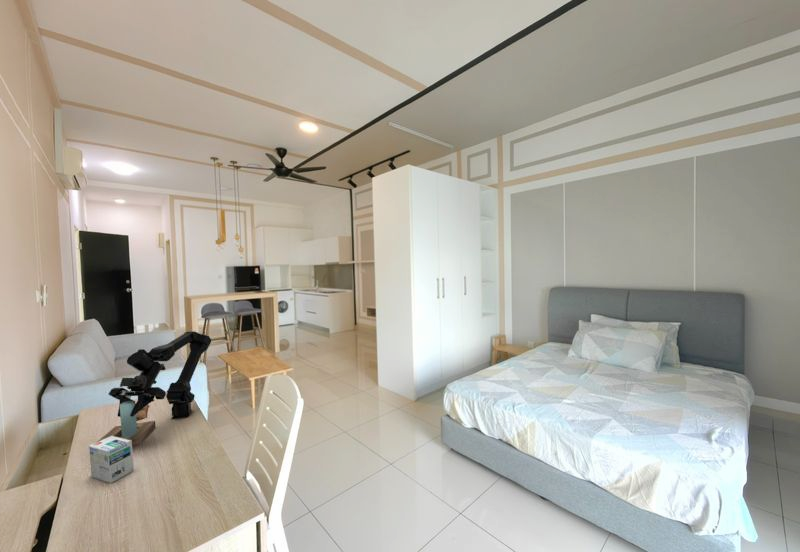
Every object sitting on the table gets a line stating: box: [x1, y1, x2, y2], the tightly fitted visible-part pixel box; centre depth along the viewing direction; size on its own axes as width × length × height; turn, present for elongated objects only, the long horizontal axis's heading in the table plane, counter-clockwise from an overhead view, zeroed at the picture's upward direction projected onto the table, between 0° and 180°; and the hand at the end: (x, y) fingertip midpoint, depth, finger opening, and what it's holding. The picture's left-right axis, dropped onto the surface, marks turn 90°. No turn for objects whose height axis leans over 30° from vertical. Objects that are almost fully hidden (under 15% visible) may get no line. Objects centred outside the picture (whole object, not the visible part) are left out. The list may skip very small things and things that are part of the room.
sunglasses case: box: [135, 402, 150, 422], centre depth 145 cm, size 18×7×7 cm
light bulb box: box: [88, 436, 134, 484], centre depth 103 cm, size 11×7×11 cm, turn 71°
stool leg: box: [119, 400, 138, 438], centre depth 116 cm, size 4×4×12 cm
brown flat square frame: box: [96, 420, 156, 448], centre depth 124 cm, size 14×14×3 cm
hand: (124, 416), depth 114 cm, fingers closed on stool leg, 4 cm apart
